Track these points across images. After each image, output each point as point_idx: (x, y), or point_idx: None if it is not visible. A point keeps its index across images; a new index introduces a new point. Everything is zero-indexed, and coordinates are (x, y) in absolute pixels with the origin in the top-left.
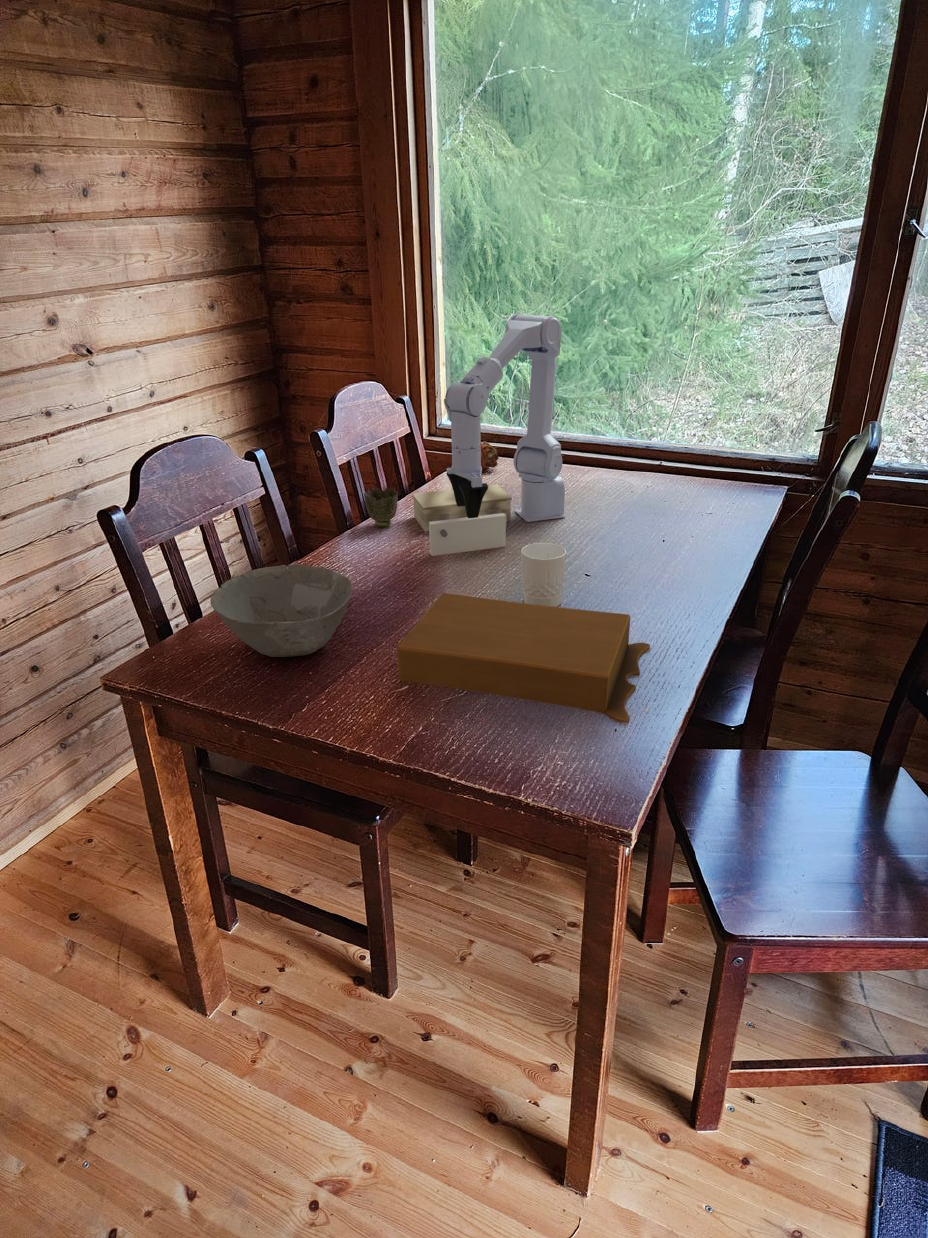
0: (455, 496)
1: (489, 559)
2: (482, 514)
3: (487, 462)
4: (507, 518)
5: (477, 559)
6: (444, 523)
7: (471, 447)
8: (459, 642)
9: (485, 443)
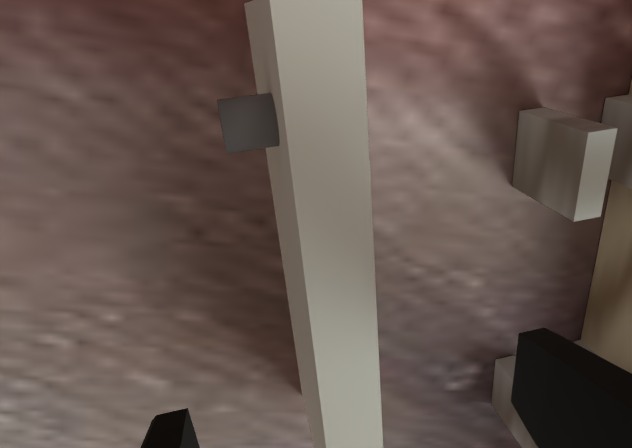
0: (604, 393)
1: (141, 323)
2: (622, 353)
3: None
4: None
5: (147, 268)
6: (287, 157)
7: None
8: None
9: None
